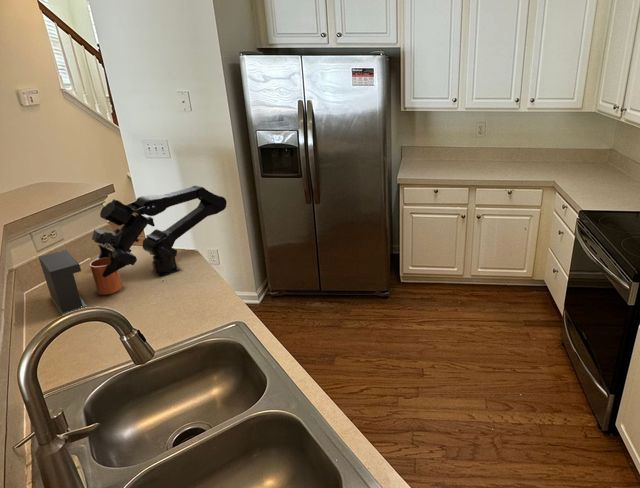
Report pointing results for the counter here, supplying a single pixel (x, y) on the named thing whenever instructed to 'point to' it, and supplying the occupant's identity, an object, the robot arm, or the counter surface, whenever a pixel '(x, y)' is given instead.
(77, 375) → the counter surface
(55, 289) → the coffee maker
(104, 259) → the cup
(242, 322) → the counter surface
